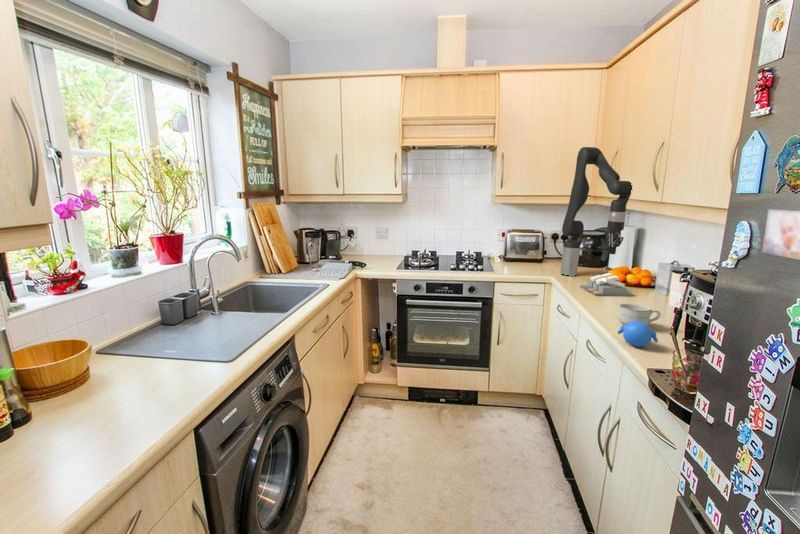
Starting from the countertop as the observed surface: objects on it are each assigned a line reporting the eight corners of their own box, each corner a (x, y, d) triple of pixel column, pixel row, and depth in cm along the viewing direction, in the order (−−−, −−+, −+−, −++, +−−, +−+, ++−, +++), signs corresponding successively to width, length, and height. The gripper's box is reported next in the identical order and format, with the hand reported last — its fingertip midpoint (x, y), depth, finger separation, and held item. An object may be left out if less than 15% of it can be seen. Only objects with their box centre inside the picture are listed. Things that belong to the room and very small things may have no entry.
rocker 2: (595, 282, 202) (595, 279, 202) (614, 278, 202) (614, 274, 201) (599, 284, 199) (599, 281, 198) (618, 279, 198) (618, 276, 198)
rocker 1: (590, 280, 208) (590, 277, 207) (609, 275, 207) (608, 272, 207) (594, 281, 204) (593, 278, 204) (613, 277, 204) (612, 274, 203)
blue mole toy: (658, 343, 135) (662, 320, 133) (655, 354, 126) (659, 329, 124) (619, 334, 142) (622, 312, 140) (613, 344, 133) (617, 321, 131)
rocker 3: (601, 280, 196) (602, 277, 196) (619, 285, 197) (621, 282, 197) (605, 282, 193) (606, 278, 192) (624, 287, 193) (625, 284, 193)
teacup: (615, 326, 150) (617, 307, 148) (617, 319, 159) (620, 300, 157) (658, 335, 142) (661, 314, 141) (658, 326, 151) (661, 306, 150)
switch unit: (579, 287, 209) (580, 277, 208) (614, 287, 210) (616, 278, 209) (595, 295, 193) (597, 285, 192) (633, 296, 193) (635, 286, 192)
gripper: (602, 219, 206) (598, 251, 209) (616, 221, 193) (611, 256, 196) (616, 219, 206) (611, 251, 210) (631, 221, 193) (626, 256, 196)
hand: (612, 253), depth 203 cm, fingers closed
